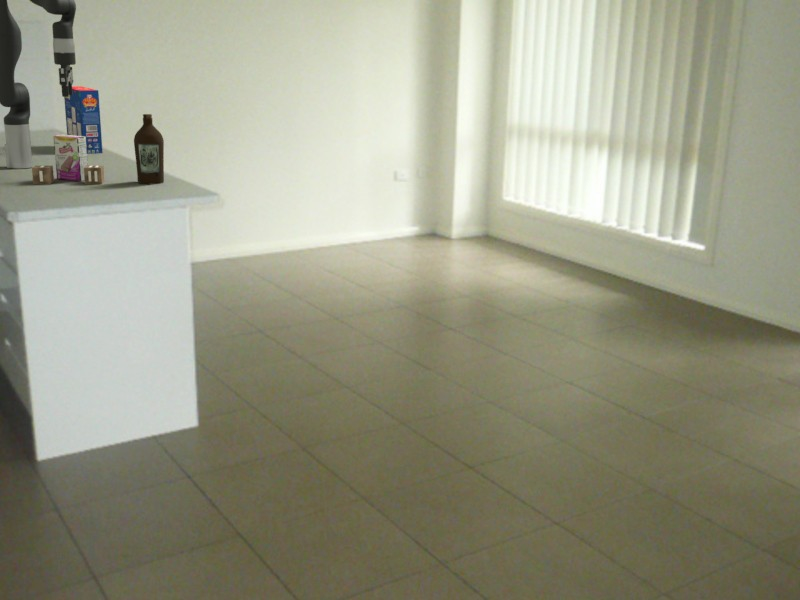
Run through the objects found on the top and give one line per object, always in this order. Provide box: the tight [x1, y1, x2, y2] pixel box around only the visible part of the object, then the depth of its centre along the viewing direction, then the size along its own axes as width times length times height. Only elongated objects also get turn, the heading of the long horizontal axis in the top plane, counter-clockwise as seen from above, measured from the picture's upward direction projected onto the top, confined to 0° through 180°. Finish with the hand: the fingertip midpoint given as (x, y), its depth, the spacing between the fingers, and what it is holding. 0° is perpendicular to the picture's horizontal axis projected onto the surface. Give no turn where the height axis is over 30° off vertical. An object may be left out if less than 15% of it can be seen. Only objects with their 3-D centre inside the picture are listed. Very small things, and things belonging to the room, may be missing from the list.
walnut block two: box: [84, 165, 105, 185], centre depth 337 cm, size 6×6×6 cm
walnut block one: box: [31, 165, 55, 185], centre depth 334 cm, size 6×6×6 cm
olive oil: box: [133, 113, 165, 185], centre depth 338 cm, size 11×11×25 cm
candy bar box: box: [53, 134, 89, 182], centre depth 340 cm, size 11×5×16 cm, turn 71°
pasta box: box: [63, 86, 104, 155], centre depth 421 cm, size 28×8×28 cm, turn 34°
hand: (67, 95), depth 344 cm, fingers open, 8 cm apart
